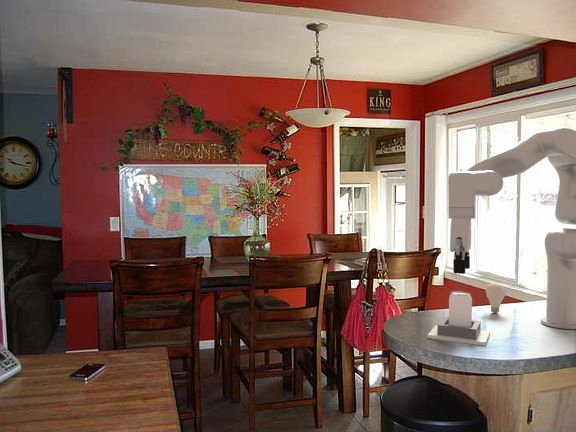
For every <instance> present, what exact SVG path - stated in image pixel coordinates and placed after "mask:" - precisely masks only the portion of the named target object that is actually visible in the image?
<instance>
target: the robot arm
mask: <svg viewBox="0 0 576 432" xmlns="http://www.w3.org/2000/svg"><path fill="white" fill-rule="evenodd" d="M545 158H547V159H548V161H549V163H550V164H551V165H552V166H553V168H554V169H555V171H556V173H557V175H558V179H559V184H558V193H557V198H556V205H555V211H554V214H555V215H554V216H555V218H556V221H558V222H559V223H562V224H564V225H574V226H576V130H575V129H572V128H569V127H561V126H560V127H555V128H548V129H540V130H537V131H534V132H532V133H530V135H528V136H526V137H524V138H523V139H522V140H520V141H519V142H516V144H514V145H512V146H511V147H510V148H508V149H506V150H504V151H501V152H499V153H497V154H495V155H493V156H490V157H489V158H486V159H484V160H481V161H479V162H477V163H476V164H475V165H473V166H471V167H469V168H468V169H466V170H464V171H453V172H450V173H449V174H448V178H447V179H448V181H447V183H448V185H447V186H448V187H447V192H448V193H447V194H448V195H447V197H448V198H447V200H448V202H447V205H448V208H447V209H448V211H447V212H448V216H447V217H448V220H449V219H451V220H450V234H449V235H450V236H449V237H450V239H449V252H451V253H453V265H452V266H453V268H452V269H453V274H459V275H460V274H461V275H464V274H466V270H469V269H470V267H471V263H470V262H471V256H470V250H471V247H472V220H473V219H474V220H475V219H476V197H477V196H478V197H490V196H491V197H492V196H494V195H496V194H498V193H500V192H501V191H502V189H503V187H504V180H503V179H504V178H509V177H514V176H517V175H520V174H523V173H525V172H526V171H528V170H529V169H530V168H532V167H534V166H535V165H537V164H538V163H540V162H541V161H543V160H544V159H545ZM544 249H545V254H546V259H547V260H546V261H547V271H546V273H547V275H546V277H547V278H546V309H545V310H546V311H545V313H546V315H545V316H544V317H542V318H540V323H541V324H543V325H545V326H547V327H552V328H556V329H563V330H576V228H567V227H557V228H555V229H551V230H550V231H549V232H548V233H547V234H546V235H545V238H544Z"/></svg>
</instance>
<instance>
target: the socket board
mask: <svg viewBox="0 0 576 432" xmlns="http://www.w3.org/2000/svg"><path fill="white" fill-rule="evenodd" d="M481 323H482V321H481V320H475V319H474V320H473V319H472V323H471V328H470V327H461V326H453V325H449V316H448V317H445V316H444V317H443V318H442V319H441V320H440V321H439V322H438V324H435V325H434V326H433V327H432V329H431V330H430V331H429V332H428V334H427V339H430V338H431V339H432V340H438V339H439V340H438V341H447V342H453V343H461V344H470V345H475V346H485V347H486V345H487V343H488V341H489V338H490V335H491V331H490V330H483V329H481V327H482V325H481ZM431 339H430V340H431Z"/></svg>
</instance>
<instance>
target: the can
mask: <svg viewBox="0 0 576 432" xmlns="http://www.w3.org/2000/svg"><path fill="white" fill-rule="evenodd" d="M472 314H473V298H472V296H471V293H470V292H468V291H462V290H460V291H459V290H457V291H456V290H455V291H450V295H449V297H448V318H449V325H453V326H461V327H470V328H471V323H472V320H473V319H472V316H473V315H472Z"/></svg>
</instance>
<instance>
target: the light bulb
mask: <svg viewBox="0 0 576 432" xmlns="http://www.w3.org/2000/svg"><path fill="white" fill-rule="evenodd" d="M485 294H486V297H487V299H488V301H489V305H490V311H491V313H493V314H498V313H500V307H501V303H502V302H503V300H504V298H505V296H506V289H505V287H504V286H503V285H502V284H500V283H499V282H492V283H489V284H488V285H487V286H486V287H485Z"/></svg>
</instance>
